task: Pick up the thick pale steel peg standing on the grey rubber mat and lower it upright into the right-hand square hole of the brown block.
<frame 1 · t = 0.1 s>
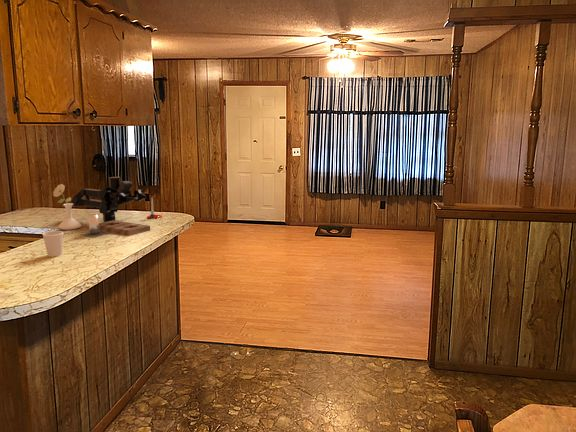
hand: (139, 198, 262), 17 cm above the countertop, tool horizontal, fingers open, 9 cm apart
flower in vase: (69, 229, 262), on the countertop
hole block: (121, 230, 259), on the countertop
rubber mat: (94, 235, 249), on the countertop
steel peg: (94, 234, 249), resting on rubber mat
dixie cup: (55, 255, 212), on the countertop
tow hook: (155, 217, 295), on the countertop
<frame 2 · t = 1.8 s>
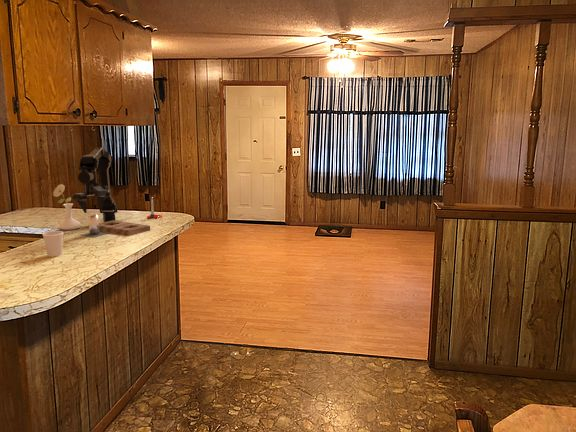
hand: (93, 211, 246), 12 cm above the countertop, tool pointing down, fingers open, 9 cm apart
nothing on the countertop moved.
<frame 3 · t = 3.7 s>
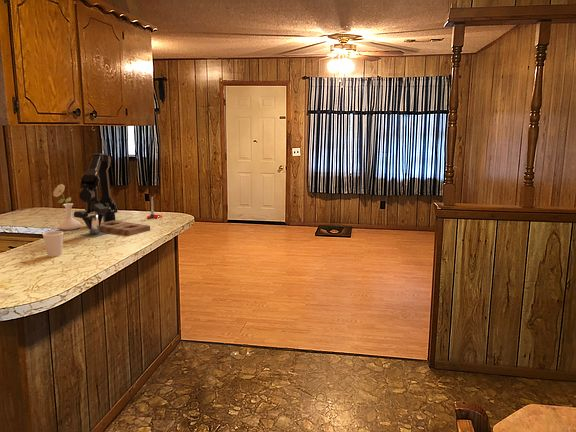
hand: (94, 228, 248), 4 cm above the countertop, tool pointing down, fingers closed on steel peg, 5 cm apart
steel peg: (94, 234, 249), resting on rubber mat, touching gripper
everything else where it was.
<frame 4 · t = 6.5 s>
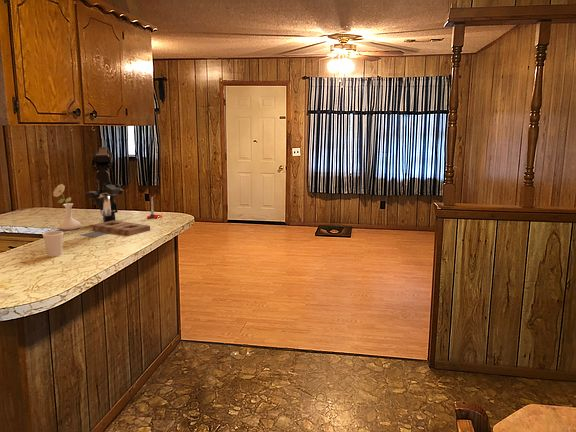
hand: (105, 209, 249), 13 cm above the countertop, tool pointing down, fingers closed on steel peg, 5 cm apart
steel peg: (106, 215, 249), point 10 cm above the countertop, touching gripper
everything else where it was.
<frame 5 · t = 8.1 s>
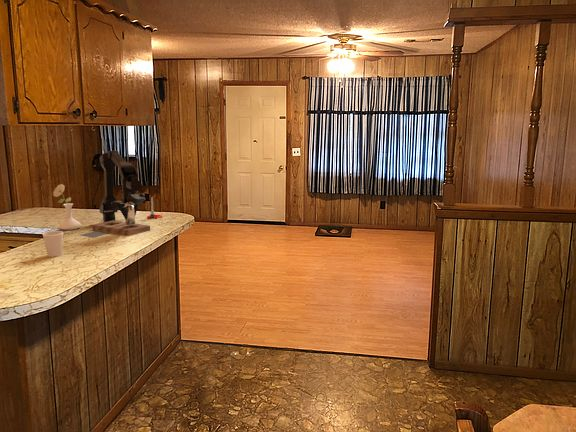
hand: (130, 218, 254), 7 cm above the countertop, tool pointing down, fingers closed on steel peg, 5 cm apart
steel peg: (130, 224, 255), point 4 cm above the countertop, touching gripper
everything else where it was.
when the fingers open (5 cm above the countertop, at t = 9.3 s): steel peg drops 2 cm, resting in hole block.
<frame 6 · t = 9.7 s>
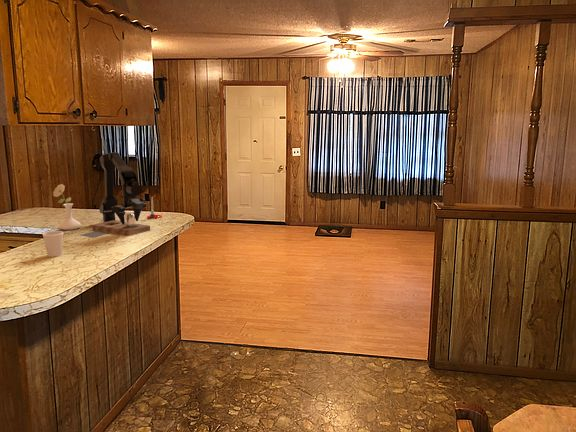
hand: (130, 222, 255), 5 cm above the countertop, tool pointing down, fingers open, 9 cm apart
steel peg: (130, 232, 256), resting in hole block
everything else where it was.
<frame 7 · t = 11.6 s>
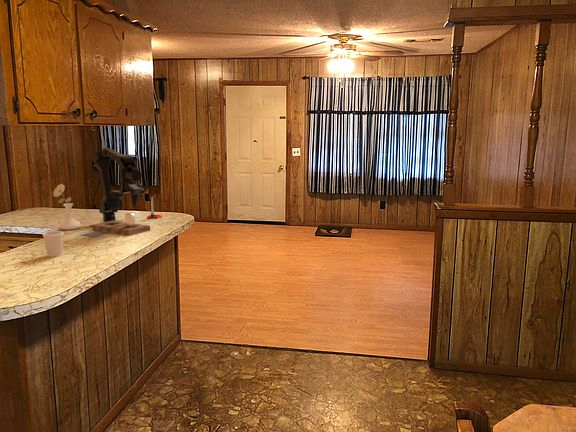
hand: (127, 207, 262), 11 cm above the countertop, tool pointing down, fingers open, 9 cm apart
nothing on the countertop moved.
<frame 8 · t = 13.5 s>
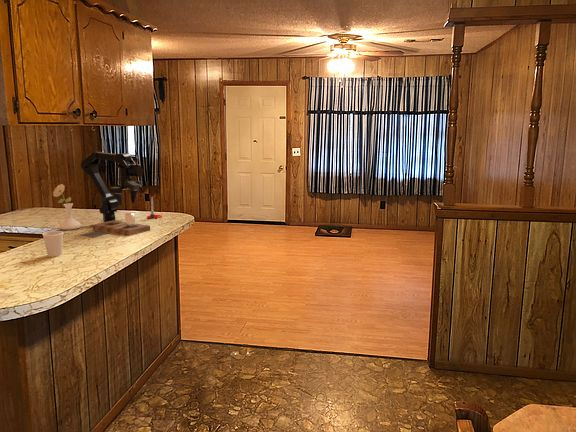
hand: (127, 204, 271), 12 cm above the countertop, tool pointing down, fingers open, 9 cm apart
nothing on the countertop moved.
at the end: steel peg 0.0 cm from the target spot on the hole block, point 0.0 cm above the hole block's base; steel peg tilted 0°; the gripper is holding nothing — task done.
